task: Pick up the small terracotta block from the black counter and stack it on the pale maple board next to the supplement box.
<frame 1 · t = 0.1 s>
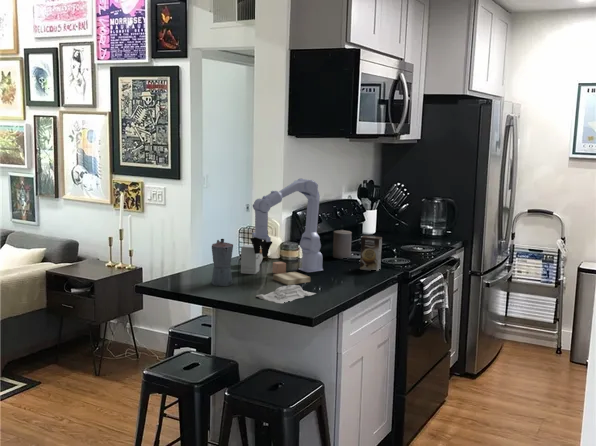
hand: (261, 255, 281), 10 cm above the countertop, tool pointing down, fingers open, 7 cm apart
moka pot: (221, 284, 268), on the countertop
lidded jar: (252, 266, 305), on the countertop
coffee box: (370, 269, 304), on the countertop
terrain model: (286, 297, 252), on the countertop
base: (291, 280, 277), on the countertop
block: (279, 273, 291), on the countertop
pillar candle: (341, 257, 332), on the countertop
supplement box: (250, 272, 291), on the countertop
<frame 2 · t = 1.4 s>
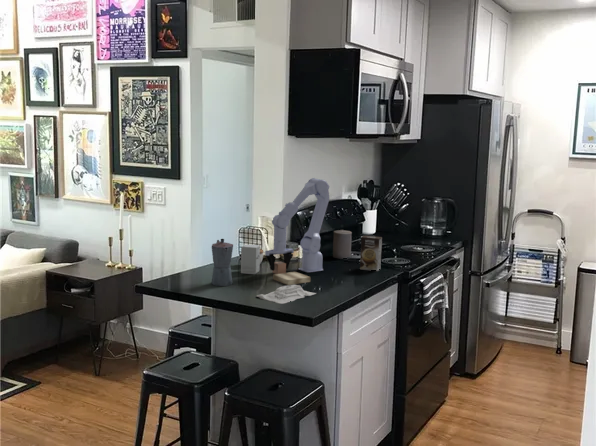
hand: (279, 269, 290), 2 cm above the countertop, tool pointing down, fingers open, 7 cm apart
nothing on the countertop moved.
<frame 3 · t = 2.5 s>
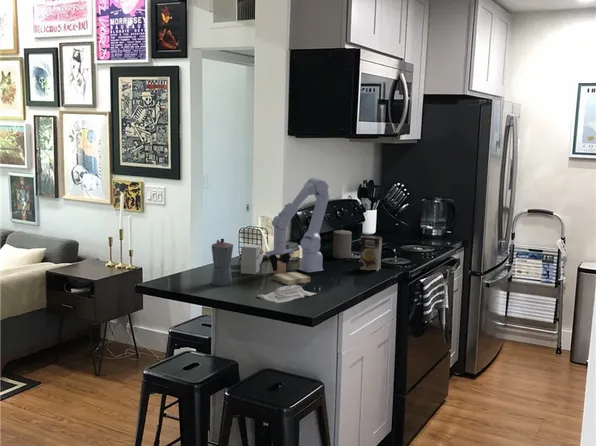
hand: (279, 270, 291), 1 cm above the countertop, tool pointing down, fingers closed on block, 4 cm apart
block: (279, 273, 291), on the countertop, touching gripper
everything else where it was.
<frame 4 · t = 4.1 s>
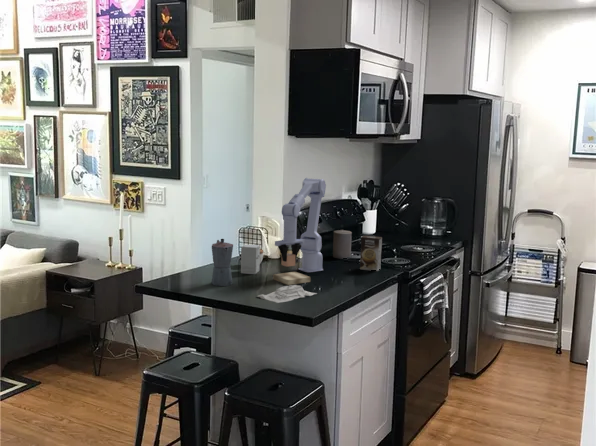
hand: (289, 260, 278), 9 cm above the countertop, tool pointing down, fingers closed on block, 4 cm apart
block: (288, 265, 279), point 6 cm above the countertop, touching gripper
everything else where it was.
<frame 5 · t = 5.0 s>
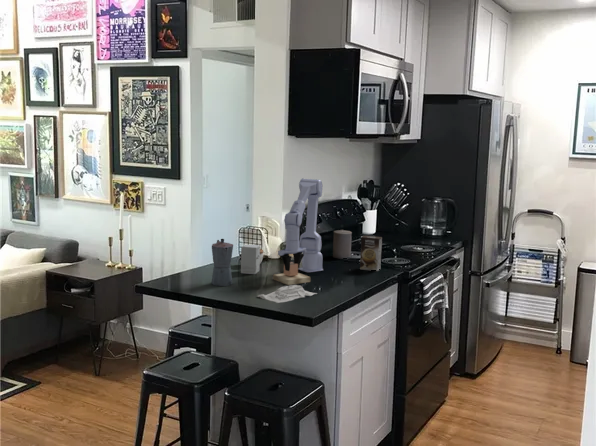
hand: (291, 269, 276), 5 cm above the countertop, tool pointing down, fingers closed on block, 4 cm apart
block: (290, 274, 277), point 3 cm above the countertop, touching gripper
everything else where it was.
when the fingers open (5 cm above the countertop, at t = 5.8 s): block stays where it is, resting on base.
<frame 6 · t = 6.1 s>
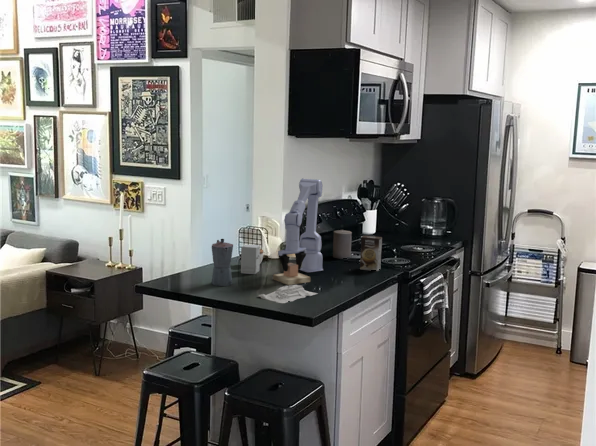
hand: (291, 269, 276), 5 cm above the countertop, tool pointing down, fingers open, 7 cm apart
block: (290, 275, 277), point 2 cm above the countertop, touching base
everything else where it was.
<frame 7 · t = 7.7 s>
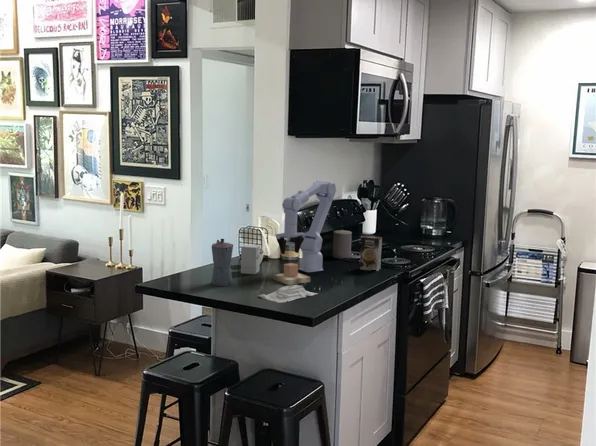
hand: (289, 253, 285), 10 cm above the countertop, tool pointing down, fingers open, 7 cm apart
nothing on the countertop moved.
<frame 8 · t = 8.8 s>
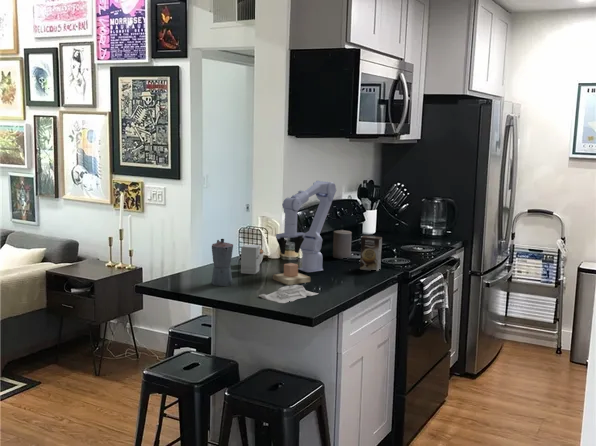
hand: (289, 253, 285), 10 cm above the countertop, tool pointing down, fingers open, 7 cm apart
at the end: block inside the target area on the base (0.7 cm from its centre), point 2.2 cm above the base's base; block tilted 0°; the gripper is holding nothing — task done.
